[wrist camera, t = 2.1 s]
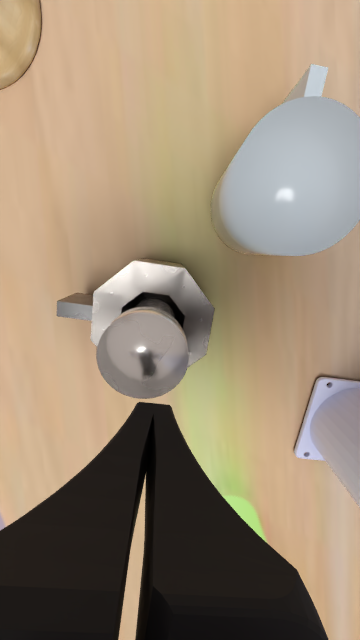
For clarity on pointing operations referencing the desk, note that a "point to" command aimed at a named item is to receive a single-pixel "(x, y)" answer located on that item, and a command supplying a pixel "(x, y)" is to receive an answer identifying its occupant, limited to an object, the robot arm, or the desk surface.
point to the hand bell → (18, 37)
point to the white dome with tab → (293, 177)
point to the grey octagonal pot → (139, 285)
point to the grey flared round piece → (144, 351)
